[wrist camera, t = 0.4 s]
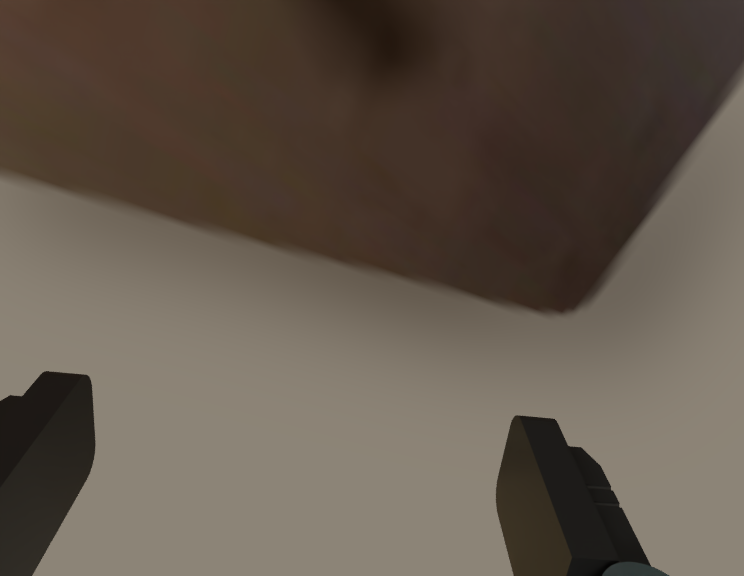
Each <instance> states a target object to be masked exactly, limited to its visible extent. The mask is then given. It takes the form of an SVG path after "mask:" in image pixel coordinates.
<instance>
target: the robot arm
mask: <svg viewBox="0 0 744 576" xmlns="http://www.w3.org/2000/svg"><path fill="white" fill-rule="evenodd" d="M94 454H95V430H94V413H93V396H92V384H91V380H90V378H89V376H88V375H81V374H70V373H60V372H49V371H46V372H43V373H42V374H41V375H40V376H39V377H38V378H37V380H36V381H35V382H34V383H33V384H32V385H31V387H30V388H29V389H28V390H27V391H26V393H25V394H24V395H23V396H12V395H10V396H8V397H7V398H5V399H3V400H1V401H0V576H32V575H33V573H34V571H35V569H36V568H37V566H38V564H39V563H40V561H41V559H42V557H43V555H44V554H45V552H46V550H47V548H48V546H49V545H50V543H51V541H52V540H53V538H54V536H55V534H56V533H57V531H58V529H59V527H60V526H61V524H62V522H63V520H64V518H65V517H66V515H67V513H68V511H69V510H70V508H71V506H72V504H73V503H74V501H75V499H76V497H77V496H78V494H79V492H80V490H81V489H82V487H83V485H84V483H85V482H86V480H87V478H88V475H89V473H90V471H91V468H92V464H93V460H94ZM496 505H497V512H498V517H499V520H500V524H501V528H502V532H503V536H504V540H505V544H506V547H507V551H508V555H509V559H510V563H511V567H512V571H513V574H514V576H669V575H667V574H666V573H664V572H662V571H660V570H658V569H656V568H654V567H651V565H650V563H649V561H648V559H647V557H646V555H645V553H644V551H643V549H642V547H641V545H640V543H639V541H638V539H637V537H636V535H635V533H634V531H633V530H632V527H631V525H630V524H629V521H628V519H627V517H626V515H625V513H624V512H623V510H622V508H620V507H619V502H618V500H617V498H616V496H615V494H614V492H613V491H611V486H610V484H609V482H608V480H607V478H606V476H605V474H604V472H603V470H602V468H601V466H600V465H599V464H598V463H596V461H595V460H594V459H592V458H591V456H590V455H588V454H587V453H586V452H585V451H584V450H583V449H582V448H581V447H570V446H568V445H567V443H566V440H565V438H564V436H563V434H562V432H561V429H560V427H559V425H558V423H557V421H556V420H555V419H550V418H538V417H528V416H515V417H514V418H513V420H512V422H511V426H510V430H509V434H508V438H507V442H506V446H505V450H504V455H503V459H502V463H501V467H500V471H499V476H498V480H497V487H496Z"/></svg>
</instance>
